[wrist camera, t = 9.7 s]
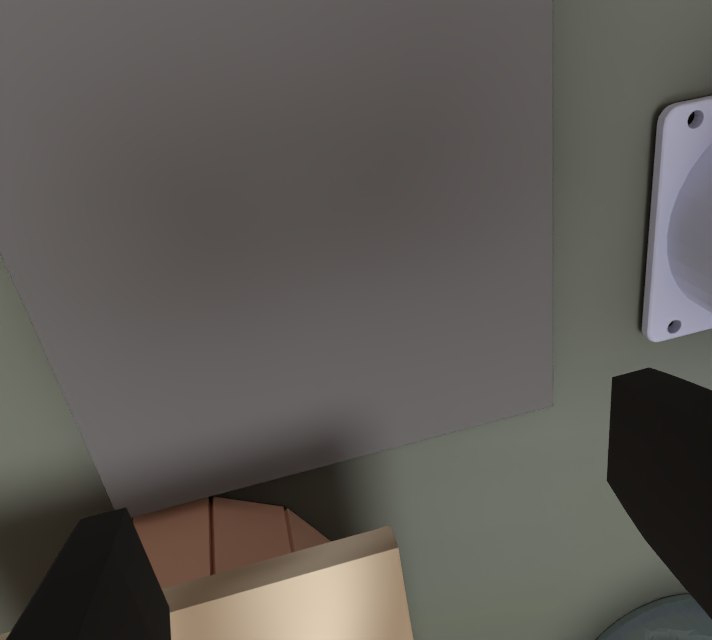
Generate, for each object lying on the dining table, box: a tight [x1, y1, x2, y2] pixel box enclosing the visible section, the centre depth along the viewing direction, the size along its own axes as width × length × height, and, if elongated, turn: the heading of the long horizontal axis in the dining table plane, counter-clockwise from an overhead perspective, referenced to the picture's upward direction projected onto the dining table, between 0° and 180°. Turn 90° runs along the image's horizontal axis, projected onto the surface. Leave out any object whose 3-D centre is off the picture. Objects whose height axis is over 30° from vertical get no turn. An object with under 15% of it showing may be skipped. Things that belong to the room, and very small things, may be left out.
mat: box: [0, 0, 553, 517], centre depth 18 cm, size 15×15×1 cm
